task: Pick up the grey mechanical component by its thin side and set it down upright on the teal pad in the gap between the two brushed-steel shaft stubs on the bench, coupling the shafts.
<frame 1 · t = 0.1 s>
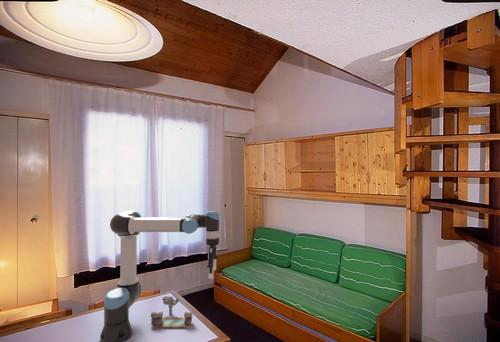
hand: (212, 274, 156), 28 cm above the table, fingers open, 13 cm apart
mechanical component: (170, 314, 164), on the table
shaft bench: (173, 323, 153), on the table
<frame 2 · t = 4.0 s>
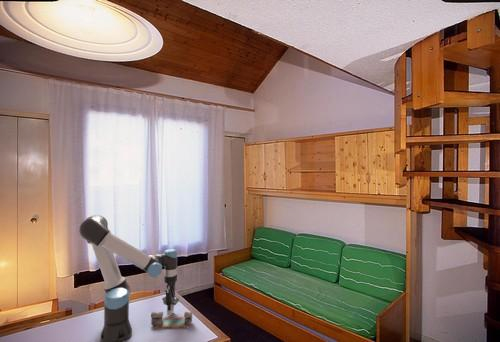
hand: (170, 313, 164), 1 cm above the table, fingers closed on mechanical component, 3 cm apart
mechanical component: (170, 314, 164), on the table, touching gripper
when the fingers open (2 cm above the table, at t = 8.4 s): mechanical component stays where it is, resting on shaft bench.
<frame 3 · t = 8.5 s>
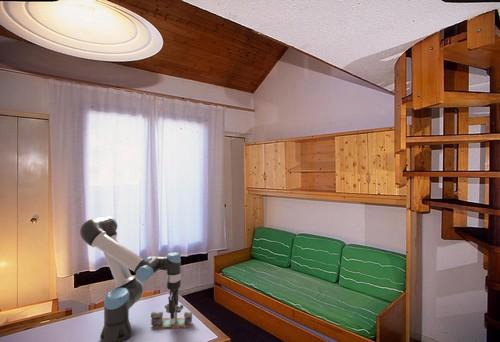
hand: (173, 321, 153), 2 cm above the table, fingers open, 3 cm apart
mechanical component: (174, 322, 153), point 1 cm above the table, touching shaft bench
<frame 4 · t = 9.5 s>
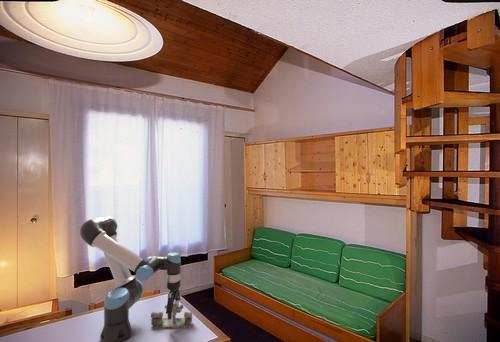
hand: (173, 317, 153), 4 cm above the table, fingers open, 13 cm apart
nothing on the table moved.
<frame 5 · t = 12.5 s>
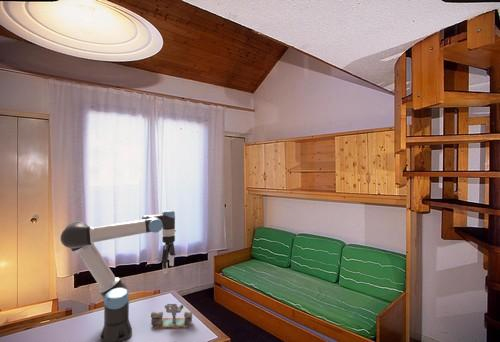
hand: (168, 269, 167), 27 cm above the table, fingers open, 13 cm apart
nothing on the table moved.
at the end: mechanical component 0.3 cm from the target spot, point 0.9 cm above the table; mechanical component tilted 0°; the gripper is holding nothing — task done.
